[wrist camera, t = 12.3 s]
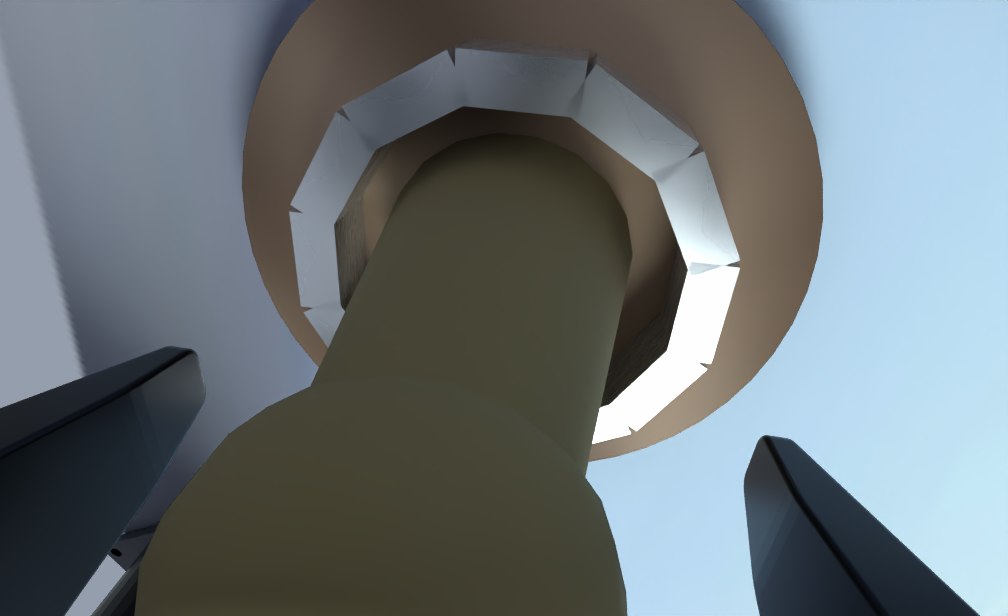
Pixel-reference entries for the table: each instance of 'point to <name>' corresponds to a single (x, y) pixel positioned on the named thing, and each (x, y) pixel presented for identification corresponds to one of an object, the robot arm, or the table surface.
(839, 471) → the table surface
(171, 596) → the cork
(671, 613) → the table surface
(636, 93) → the socket ring
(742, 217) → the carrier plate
